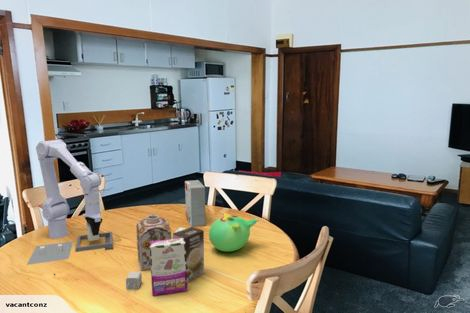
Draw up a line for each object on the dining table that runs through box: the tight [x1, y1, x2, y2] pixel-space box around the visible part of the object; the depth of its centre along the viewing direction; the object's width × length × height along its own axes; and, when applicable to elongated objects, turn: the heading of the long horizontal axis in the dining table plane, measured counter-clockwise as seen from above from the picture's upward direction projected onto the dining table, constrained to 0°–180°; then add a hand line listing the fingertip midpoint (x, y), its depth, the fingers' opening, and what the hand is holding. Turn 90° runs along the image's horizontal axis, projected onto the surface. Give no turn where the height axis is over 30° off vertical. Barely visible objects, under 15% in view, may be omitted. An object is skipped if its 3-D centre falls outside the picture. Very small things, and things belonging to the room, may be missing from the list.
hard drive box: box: [184, 179, 207, 228], centre depth 175 cm, size 16×8×20 cm, turn 17°
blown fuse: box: [85, 222, 100, 242], centre depth 146 cm, size 3×4×7 cm
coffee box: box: [172, 226, 205, 283], centre depth 120 cm, size 9×6×16 cm
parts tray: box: [75, 231, 114, 253], centre depth 148 cm, size 14×14×2 cm
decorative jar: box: [136, 214, 173, 272], centre depth 130 cm, size 12×12×18 cm
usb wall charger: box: [125, 271, 143, 291], centre depth 113 cm, size 4×7×4 cm, turn 2°
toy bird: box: [208, 212, 259, 252], centre depth 142 cm, size 18×17×15 cm
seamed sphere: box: [174, 226, 187, 233], centre depth 149 cm, size 10×7×7 cm
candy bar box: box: [150, 238, 188, 297], centre depth 111 cm, size 11×5×16 cm, turn 105°
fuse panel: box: [26, 241, 74, 266], centre depth 138 cm, size 18×14×4 cm
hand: (94, 233), depth 147 cm, fingers closed on blown fuse, 3 cm apart
